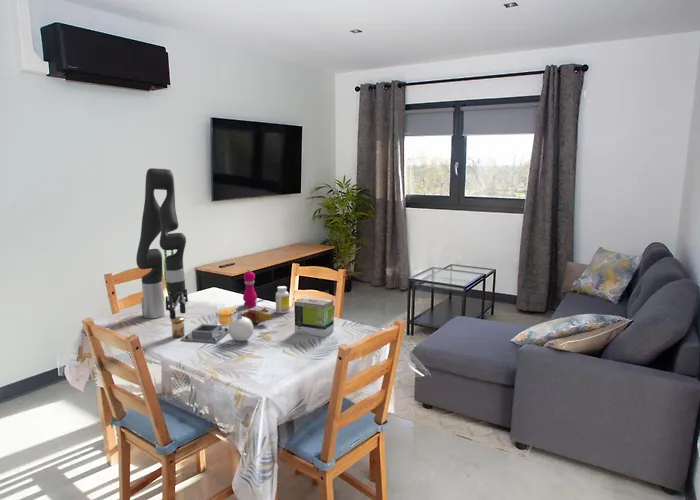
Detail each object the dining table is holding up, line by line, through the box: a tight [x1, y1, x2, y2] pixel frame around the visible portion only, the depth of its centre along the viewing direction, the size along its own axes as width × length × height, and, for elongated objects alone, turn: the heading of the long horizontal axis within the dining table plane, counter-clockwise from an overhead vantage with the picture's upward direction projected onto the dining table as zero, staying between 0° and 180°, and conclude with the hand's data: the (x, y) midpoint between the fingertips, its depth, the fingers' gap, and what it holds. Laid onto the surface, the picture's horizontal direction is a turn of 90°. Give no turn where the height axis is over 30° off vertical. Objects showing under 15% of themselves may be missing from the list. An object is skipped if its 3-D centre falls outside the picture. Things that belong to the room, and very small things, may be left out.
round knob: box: [170, 316, 186, 339], centre depth 215 cm, size 6×6×8 cm
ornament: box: [228, 313, 254, 342], centre depth 210 cm, size 10×10×12 cm
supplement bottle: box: [275, 285, 290, 314], centre depth 250 cm, size 7×7×13 cm
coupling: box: [180, 323, 229, 344], centre depth 217 cm, size 16×16×3 cm
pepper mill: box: [242, 268, 258, 308], centre depth 259 cm, size 7×7×20 cm
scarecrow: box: [239, 307, 275, 325], centre depth 233 cm, size 17×16×8 cm
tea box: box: [293, 296, 335, 338], centre depth 221 cm, size 15×10×15 cm
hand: (178, 315), depth 214 cm, fingers open, 8 cm apart
